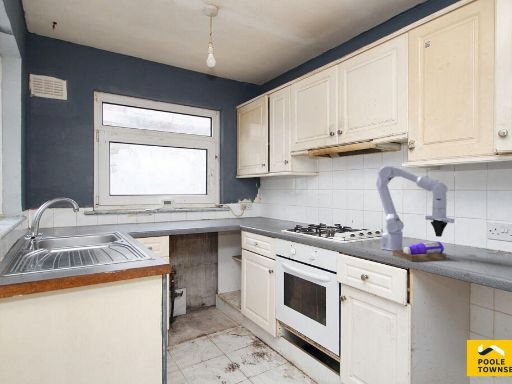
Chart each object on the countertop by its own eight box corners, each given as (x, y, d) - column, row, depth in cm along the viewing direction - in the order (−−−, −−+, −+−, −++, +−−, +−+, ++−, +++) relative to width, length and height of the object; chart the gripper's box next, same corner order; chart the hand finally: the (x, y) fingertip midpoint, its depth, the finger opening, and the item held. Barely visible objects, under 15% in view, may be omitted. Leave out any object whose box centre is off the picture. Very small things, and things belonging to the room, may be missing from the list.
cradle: (425, 253, 150) (425, 248, 150) (446, 259, 138) (446, 253, 138) (392, 255, 145) (392, 250, 145) (411, 261, 133) (411, 255, 133)
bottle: (439, 238, 141) (405, 242, 139) (446, 248, 137) (411, 252, 135) (433, 247, 147) (399, 251, 144) (439, 257, 143) (405, 261, 140)
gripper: (459, 209, 138) (459, 238, 138) (433, 206, 152) (433, 233, 152) (447, 209, 136) (446, 239, 137) (422, 207, 150) (421, 234, 151)
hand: (438, 236), depth 144 cm, fingers closed
